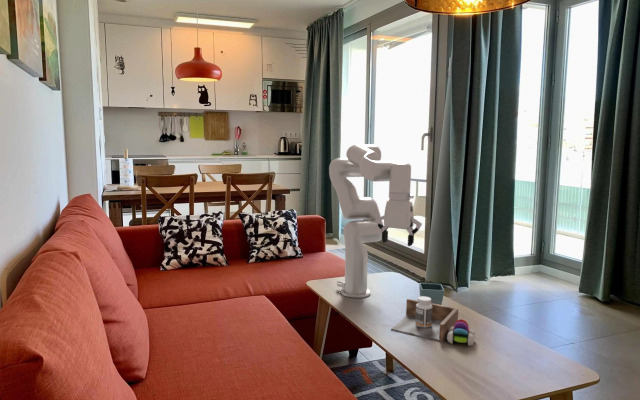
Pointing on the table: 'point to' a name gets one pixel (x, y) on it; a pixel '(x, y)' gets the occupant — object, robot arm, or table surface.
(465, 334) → the rainbow petal toy
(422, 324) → the pill bottle
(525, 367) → the table surface
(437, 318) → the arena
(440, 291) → the flower pot
